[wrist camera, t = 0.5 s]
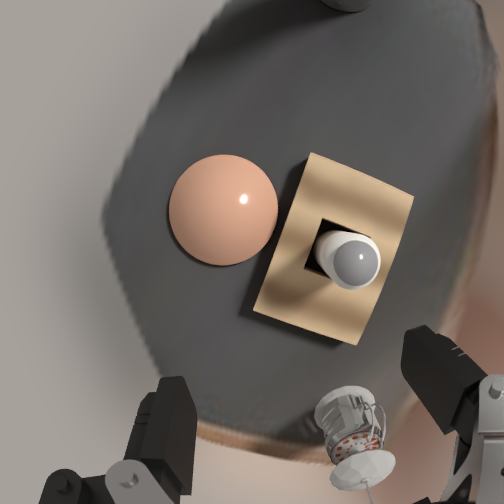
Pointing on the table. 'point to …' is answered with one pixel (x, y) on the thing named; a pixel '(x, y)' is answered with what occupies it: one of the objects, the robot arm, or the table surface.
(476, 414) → the robot arm
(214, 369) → the table surface
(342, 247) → the pepper mill
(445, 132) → the table surface
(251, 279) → the table surface
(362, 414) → the french press
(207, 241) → the terracotta plate
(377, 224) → the mill caddy
